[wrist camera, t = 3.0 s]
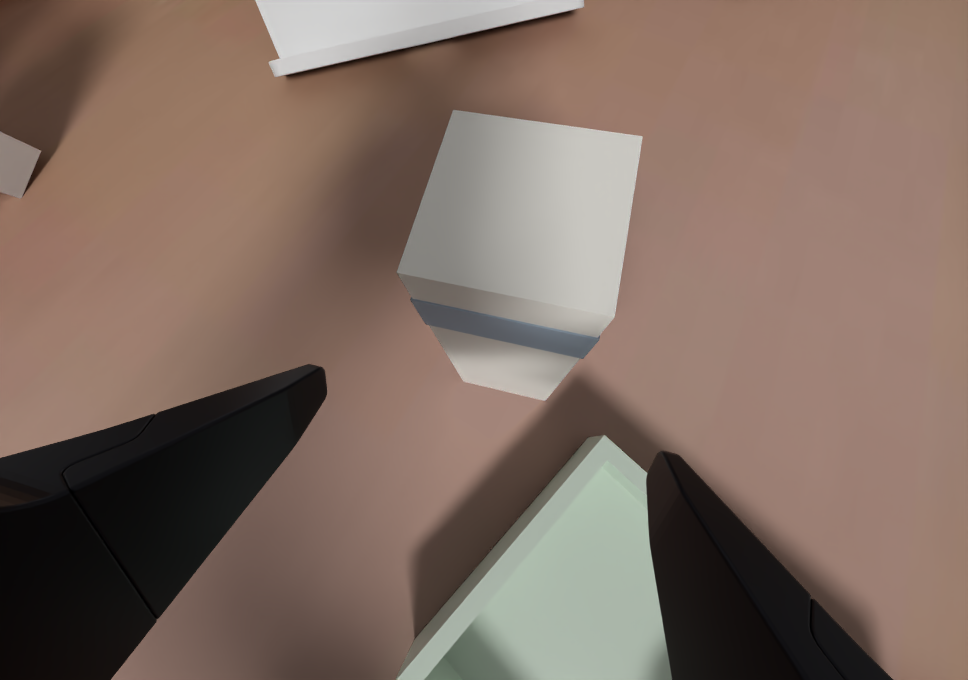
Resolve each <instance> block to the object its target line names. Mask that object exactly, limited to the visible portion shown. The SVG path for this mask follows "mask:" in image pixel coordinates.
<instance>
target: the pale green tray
mask: <svg viewBox="0 0 968 680" xmlns="http://www.w3.org/2000/svg"><path fill="white" fill-rule="evenodd" d="M646 477H647V472H645V471H644V470H643V469H642V468H641V467H640V466H639V465H638V464H636V463H635V462H634V461H633V460H632V459H631V458H630V457H629V456H628V455H626V454H625V453H624V452H623V451H622V450H621V449H620V448H619V447H617V446H616V445H615V444H614V443H613V442H612V441H611V440H610V439H609V438H607V437H606V436H605V435H601V436H594V437H588V438H587V439H586V440H585V442H584V443H583V444H582V445H581V446H580V447H579V449H578V450H577V451H576V452H575V453H574V454H573V456H572V457H571V458H570V459H569V460H568V461H567V463H566V464H565V465H564V466H563V467H562V468H561V470H560V471H559V472H558V473H557V474H556V475H555V476H554V478H553V479H552V480H551V481H550V482H549V483H548V485H547V486H546V487H545V488H544V489H543V490H542V492H541V493H540V494H539V495H538V496H537V497H536V499H535V500H534V501H533V502H532V503H531V504H530V506H529V507H528V508H527V509H526V510H525V511H524V513H523V514H522V515H521V516H520V517H519V518H518V520H517V521H516V522H515V523H514V524H513V525H512V527H511V528H510V529H509V530H508V531H507V532H506V533H505V535H504V536H503V537H502V538H501V539H500V540H499V542H498V543H497V544H496V545H495V546H494V547H493V549H492V550H491V551H490V552H489V553H488V554H487V556H486V557H485V558H484V559H483V560H482V561H481V563H480V564H479V565H478V566H477V567H476V568H475V570H474V571H473V572H472V573H471V574H470V575H469V577H468V578H467V579H466V580H465V581H464V582H463V584H462V585H461V586H460V587H459V588H458V589H457V590H456V592H455V593H454V594H453V595H452V596H451V597H450V599H449V600H448V601H447V602H446V603H445V604H444V606H443V607H442V608H441V609H440V610H439V611H438V613H437V614H436V615H435V616H434V617H433V618H432V620H431V621H430V622H429V623H428V624H427V625H426V627H425V628H424V629H423V630H422V631H421V632H420V634H419V635H418V636H417V637H416V638H415V639H414V641H413V643H412V645H411V648H410V650H409V652H408V654H407V656H406V658H405V660H404V662H403V664H402V666H401V669H400V671H399V673H398V675H397V677H396V679H395V680H672V677H671V671H670V665H669V659H668V653H667V647H666V641H665V635H664V629H663V623H662V617H661V611H660V605H659V599H658V593H657V587H656V581H655V575H654V569H653V563H652V557H651V550H650V543H649V530H648V510H647V491H646Z"/></svg>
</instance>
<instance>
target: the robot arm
mask: <svg viewBox="0 0 968 680" xmlns="http://www.w3.org/2000/svg"><path fill="white" fill-rule="evenodd" d="M326 395H327V385H326V375H325V370H324V369H323V368H322V367H320V366H316V365H312V364H307V365H304V366H301V367H298V368H295V369H292V370H289V371H285V372H282V373H279V374H276V375H273V376H270V377H267V378H264V379H261V380H257V381H254V382H251V383H248V384H245V385H242V386H239V387H236V388H233V389H229V390H226V391H223V392H220V393H217V394H214V395H211V396H208V397H205V398H201V399H198V400H195V401H192V402H189V403H186V404H183V405H180V406H177V407H173V408H170V409H167V410H164V411H161V412H158V413H157V414H151V415H148V416H145V417H142V418H139V419H136V420H133V421H130V422H126V423H123V424H120V425H117V426H113V427H110V428H107V429H104V430H100V431H97V432H93V433H89V434H86V435H82V436H79V437H75V438H72V439H68V440H65V441H61V442H57V443H54V444H50V445H46V446H43V447H39V448H35V449H32V450H28V451H24V452H21V453H17V454H13V455H10V456H6V457H2V458H0V680H111V679H112V677H113V676H114V675H115V673H116V672H117V671H118V670H119V668H120V667H121V666H122V665H123V663H124V662H125V661H126V660H127V658H128V657H129V656H130V655H131V653H132V652H133V651H134V649H135V648H136V647H137V646H138V644H139V643H140V642H141V641H142V639H143V638H144V637H145V636H146V634H147V633H148V632H149V630H150V629H151V628H152V627H153V625H154V624H155V623H156V621H157V619H158V618H159V617H160V616H161V615H162V614H163V612H164V611H165V610H166V609H167V607H168V606H169V605H170V604H171V602H172V601H173V600H174V598H175V597H176V596H177V595H178V593H179V592H180V591H181V590H182V588H183V587H184V586H185V585H186V583H187V582H188V581H189V579H190V578H191V577H192V576H193V574H194V573H195V572H196V571H197V569H198V568H199V567H200V566H201V564H202V563H203V562H204V561H205V559H206V558H207V557H208V555H209V554H210V553H211V552H212V550H213V549H214V548H215V547H216V545H217V544H218V543H219V542H220V540H221V539H222V538H223V536H224V535H225V534H226V533H227V531H228V530H229V529H230V528H231V526H232V525H233V524H234V523H235V521H236V520H237V519H238V517H239V516H240V515H241V514H242V512H243V511H244V510H245V509H246V507H247V506H248V505H249V504H250V502H251V501H252V500H253V499H254V497H255V496H256V495H257V493H258V492H259V491H260V490H261V488H262V487H263V486H264V485H265V483H266V482H267V481H268V480H269V478H270V477H271V476H272V474H273V473H274V472H275V471H276V469H277V468H278V467H279V466H280V464H281V463H282V462H283V461H284V459H285V458H286V457H287V456H288V454H289V453H290V452H291V450H292V449H293V448H294V446H295V445H296V444H297V442H298V441H299V439H300V438H301V436H302V435H303V433H304V432H305V430H306V428H307V427H308V425H309V424H310V422H311V421H312V419H313V417H314V416H315V414H316V413H317V411H318V410H319V408H320V406H321V405H322V403H323V402H324V400H325V398H326ZM646 491H647V510H648V530H649V543H650V550H651V557H652V563H653V569H654V575H655V581H656V587H657V593H658V599H659V605H660V611H661V617H662V623H663V629H664V635H665V641H666V647H667V653H668V659H669V665H670V671H671V677H672V680H893V679H892V678H891V677H890V676H889V675H888V674H887V673H886V672H885V671H884V670H883V669H882V668H881V667H880V666H879V665H878V664H877V663H876V662H875V661H874V660H873V659H872V658H871V657H870V656H869V655H868V654H867V653H866V652H865V651H864V650H863V649H862V648H861V647H860V646H859V645H858V644H857V643H856V642H855V641H854V640H853V639H852V638H851V637H850V636H849V635H848V634H847V633H846V632H845V631H844V630H843V629H842V628H841V626H840V625H839V624H838V623H837V622H836V621H835V620H834V619H833V618H832V617H831V616H830V615H829V614H828V613H827V612H826V611H825V610H824V609H823V608H822V606H821V605H820V604H819V603H818V602H817V601H816V600H815V599H811V595H810V594H809V593H808V592H807V591H806V590H805V589H804V587H803V586H802V585H801V584H800V583H799V582H798V581H797V580H796V579H795V578H794V577H793V576H792V575H791V574H790V573H789V572H788V570H787V569H786V568H785V567H784V566H783V565H782V564H781V563H780V562H779V561H778V560H777V559H776V558H775V557H774V556H773V554H772V553H771V552H770V551H769V550H768V549H767V548H766V547H765V546H764V545H763V544H762V543H761V542H760V541H759V540H758V539H757V537H756V536H755V535H754V534H753V533H752V532H751V531H750V530H749V529H748V528H747V527H746V526H745V525H744V524H743V523H742V522H741V520H740V519H739V518H738V517H737V516H736V515H735V514H734V513H733V512H732V511H731V510H730V509H729V508H728V507H727V506H726V504H725V503H724V502H723V501H722V500H721V499H720V498H719V497H718V496H717V495H716V494H715V493H714V492H713V491H712V490H711V489H710V487H709V486H708V485H707V484H706V483H705V482H704V481H703V480H702V479H701V478H700V477H699V476H698V475H697V474H696V473H695V472H694V470H693V469H692V468H691V467H690V466H689V465H688V464H687V463H686V462H685V461H684V460H683V459H682V458H681V457H680V456H679V455H678V454H675V453H671V452H666V451H660V452H659V453H658V454H657V456H656V458H655V459H654V461H653V463H652V465H651V467H650V469H649V471H648V473H647V477H646Z"/></svg>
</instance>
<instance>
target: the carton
mask: <svg viewBox="0 0 968 680" xmlns="http://www.w3.org/2000/svg"><path fill="white" fill-rule="evenodd" d="M642 137H643V136H636V135H629V134H622V133H615V132H608V131H601V130H593V129H586V128H579V127H572V126H565V125H558V124H551V123H544V122H537V121H529V120H522V119H515V118H508V117H501V116H494V115H487V114H480V113H473V112H465V111H458V110H453V112H452V115H451V118H450V121H449V124H448V127H447V129H446V132H445V135H444V138H443V141H442V144H441V147H440V149H439V152H438V155H437V158H436V161H435V164H434V167H433V170H432V172H431V175H430V178H429V181H428V184H427V187H426V190H425V193H424V195H423V198H422V201H421V204H420V207H419V210H418V213H417V215H416V218H415V221H414V224H413V227H412V230H411V233H410V236H409V238H408V241H407V244H406V247H405V250H404V253H403V256H402V258H401V261H400V264H399V267H398V270H397V274H398V276H399V277H400V279H401V281H402V282H403V284H404V286H405V287H406V289H407V290H408V292H409V294H410V295H411V299H410V300H411V302H412V303H413V305H414V307H415V308H416V310H417V311H418V313H419V314H420V316H421V318H422V319H423V321H424V322H425V324H426V325H429V326H430V328H431V329H432V331H433V333H434V334H435V336H436V337H437V339H438V341H439V342H440V344H441V346H442V347H443V349H444V350H445V352H446V354H447V355H448V357H449V359H450V360H451V362H452V363H453V365H454V367H455V368H456V370H457V372H458V373H459V375H460V376H461V378H462V380H463V381H464V382H468V383H472V384H476V385H480V386H484V387H489V388H493V389H497V390H501V391H505V392H510V393H514V394H518V395H522V396H526V397H531V398H535V399H539V400H543V401H546V399H547V398H548V397H549V396H550V395H551V393H552V392H553V391H554V390H555V389H556V387H557V386H558V385H559V384H560V382H561V381H562V380H563V379H564V378H565V376H566V375H567V374H568V373H569V372H570V370H571V369H572V368H573V367H574V366H575V364H576V363H577V362H578V361H579V359H580V358H581V359H583V358H584V357H585V356H586V355H587V354H588V352H589V351H590V350H591V349H592V348H593V347H594V345H595V344H596V343H597V342H598V341H599V338H600V334H601V333H602V332H603V330H604V329H605V328H606V327H607V326H608V324H609V323H610V322H611V321H612V320H613V318H614V317H615V311H616V305H617V298H618V292H619V286H620V279H621V273H622V266H623V260H624V253H625V247H626V240H627V234H628V227H629V221H630V214H631V208H632V202H633V195H634V189H635V182H636V176H637V169H638V163H639V156H640V150H641V143H642Z"/></svg>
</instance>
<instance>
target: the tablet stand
mask: <svg viewBox="0 0 968 680" xmlns="http://www.w3.org/2000/svg"><path fill="white" fill-rule="evenodd" d="M256 3H257V5H258V8H259V10H260V12H261V15H262V17H263V20H264V22H265V24H266V27H267V29H268V31H269V34H270V36H271V39H272V41H273V43H274V46H275V48H276V51H277V53H278V55H279V58H280V59H277V60H273V61H270V62H269V65H270V67H271V69H272V71H273V74H274V76H275V77H279V76H285V75H290V74H294V73H299V72H303V71H307V70H312V69H316V68H321V67H325V66H330V65H334V64H338V63H343V62H347V61H352V60H356V59H360V58H365V57H369V56H374V55H378V54H382V53H387V52H391V51H396V50H400V49H405V48H409V47H413V46H418V45H422V44H427V43H431V42H435V41H440V40H444V39H449V38H453V37H458V36H462V35H466V34H471V33H475V32H480V31H484V30H488V29H493V28H497V27H502V26H506V25H511V24H515V23H519V22H524V21H528V20H533V19H537V18H541V17H546V16H550V15H555V14H559V13H563V12H568V11H572V10H576V9H579V8H583V7H584V0H256Z"/></svg>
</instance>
